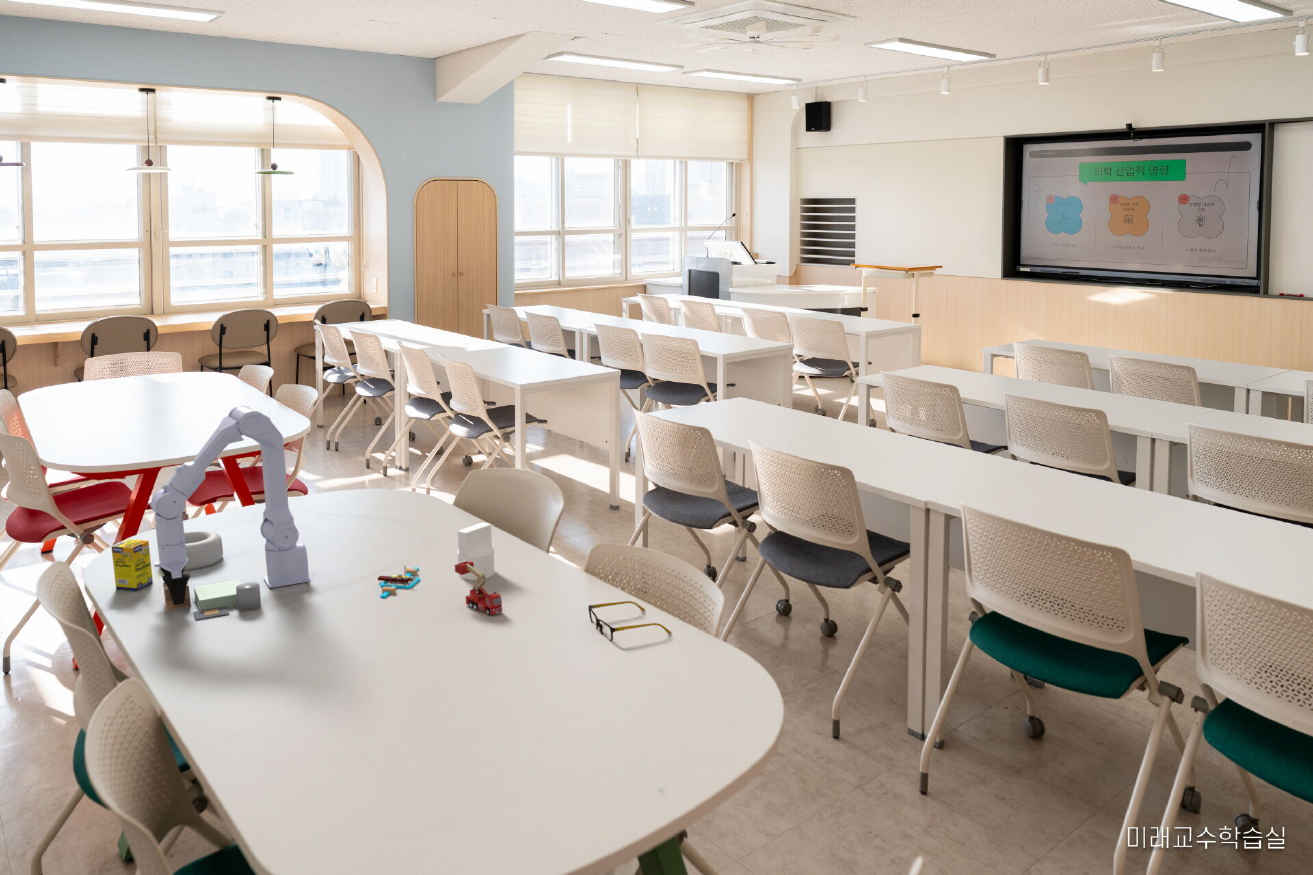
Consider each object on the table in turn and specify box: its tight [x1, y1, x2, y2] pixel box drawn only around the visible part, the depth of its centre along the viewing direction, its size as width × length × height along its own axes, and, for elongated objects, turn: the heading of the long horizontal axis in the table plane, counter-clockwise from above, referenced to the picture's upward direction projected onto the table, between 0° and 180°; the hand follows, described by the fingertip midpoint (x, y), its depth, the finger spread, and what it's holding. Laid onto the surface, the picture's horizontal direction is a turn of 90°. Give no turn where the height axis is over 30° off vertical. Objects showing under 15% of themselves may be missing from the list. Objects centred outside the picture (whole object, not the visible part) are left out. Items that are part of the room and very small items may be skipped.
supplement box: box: [110, 538, 154, 592], centre depth 249 cm, size 6×6×11 cm
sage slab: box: [193, 579, 242, 611], centre depth 241 cm, size 10×10×3 cm
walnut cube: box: [162, 582, 192, 611], centre depth 238 cm, size 5×5×5 cm
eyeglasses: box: [588, 600, 672, 642], centre depth 225 cm, size 14×14×4 cm
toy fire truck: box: [454, 561, 503, 616], centre depth 236 cm, size 3×14×10 cm, turn 47°
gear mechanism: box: [377, 564, 421, 599], centre depth 252 cm, size 20×5×9 cm
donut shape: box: [184, 529, 224, 571], centre depth 267 cm, size 15×15×7 cm
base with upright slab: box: [456, 521, 496, 581], centre depth 257 cm, size 9×9×12 cm
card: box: [192, 606, 230, 621], centre depth 233 cm, size 7×5×1 cm
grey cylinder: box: [236, 582, 262, 612], centre depth 237 cm, size 5×5×5 cm
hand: (177, 598), depth 239 cm, fingers open, 7 cm apart
